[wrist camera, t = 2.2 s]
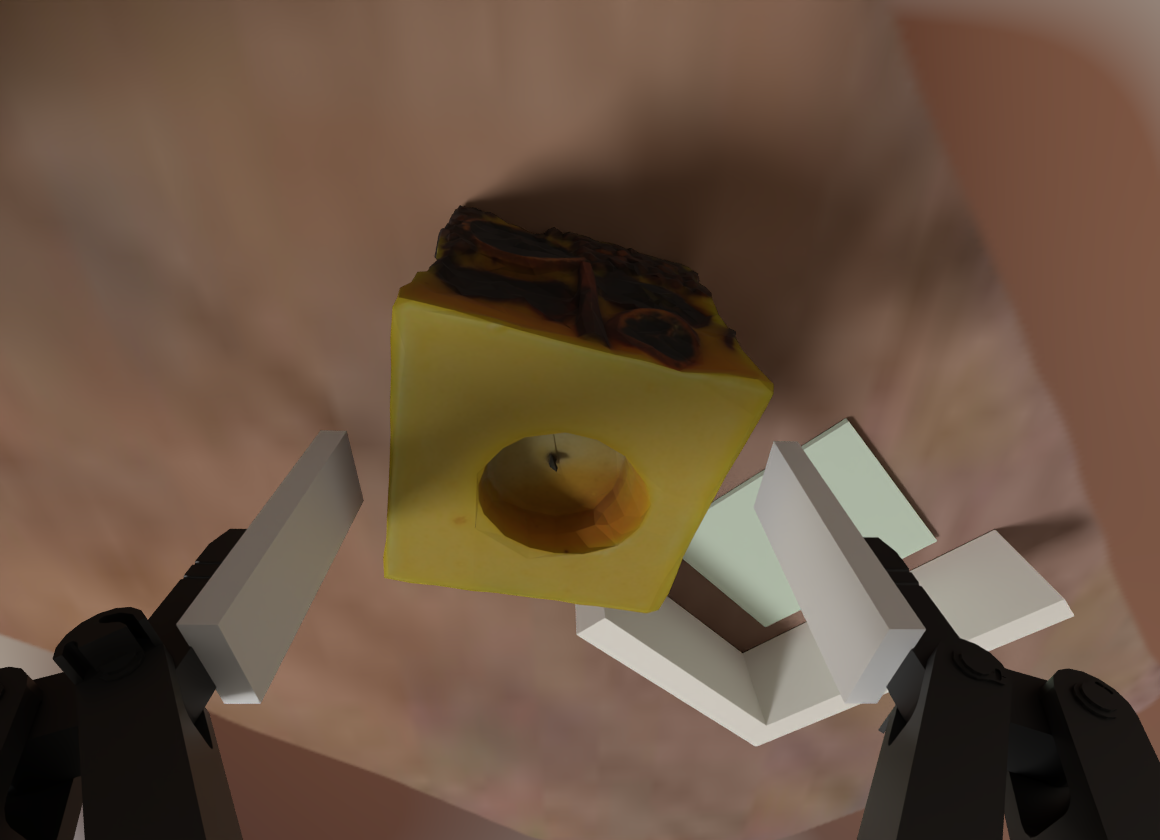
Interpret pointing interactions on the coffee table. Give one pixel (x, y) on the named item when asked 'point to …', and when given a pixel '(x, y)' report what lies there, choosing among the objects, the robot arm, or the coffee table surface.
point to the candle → (558, 416)
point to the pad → (741, 547)
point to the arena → (793, 659)
